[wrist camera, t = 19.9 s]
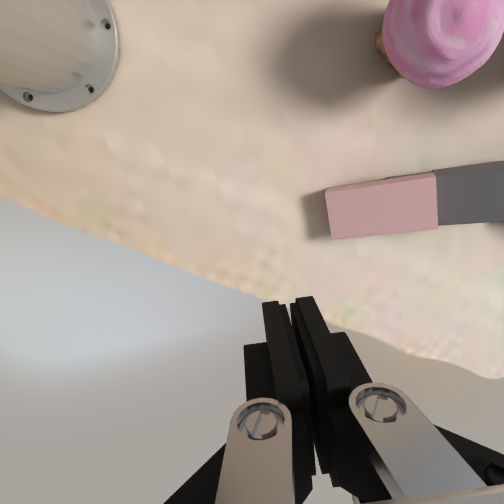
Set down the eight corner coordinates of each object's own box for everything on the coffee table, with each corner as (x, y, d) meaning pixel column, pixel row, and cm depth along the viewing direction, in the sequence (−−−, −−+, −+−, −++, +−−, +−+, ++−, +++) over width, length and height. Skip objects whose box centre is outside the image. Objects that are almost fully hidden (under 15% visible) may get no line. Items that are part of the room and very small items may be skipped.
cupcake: (338, 48, 33) (381, 18, 24) (406, -40, 31) (482, -110, 22) (403, 112, 35) (464, 108, 26) (470, 35, 33) (563, 0, 24)
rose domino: (331, 239, 37) (438, 228, 34) (324, 192, 36) (435, 176, 32) (333, 232, 39) (434, 222, 36) (326, 188, 38) (432, 172, 34)
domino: (390, 228, 37) (504, 221, 34) (387, 181, 36) (507, 167, 32) (390, 222, 39) (499, 214, 35) (388, 177, 37) (502, 163, 34)
